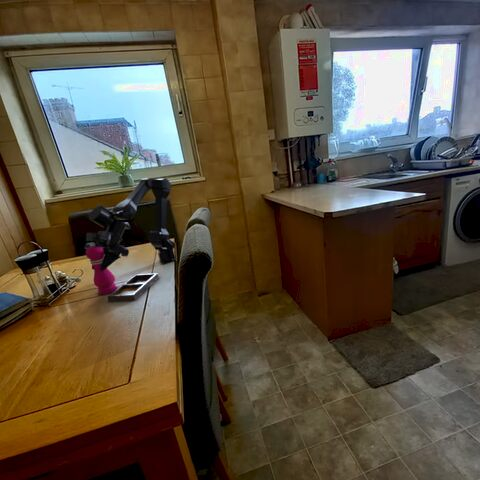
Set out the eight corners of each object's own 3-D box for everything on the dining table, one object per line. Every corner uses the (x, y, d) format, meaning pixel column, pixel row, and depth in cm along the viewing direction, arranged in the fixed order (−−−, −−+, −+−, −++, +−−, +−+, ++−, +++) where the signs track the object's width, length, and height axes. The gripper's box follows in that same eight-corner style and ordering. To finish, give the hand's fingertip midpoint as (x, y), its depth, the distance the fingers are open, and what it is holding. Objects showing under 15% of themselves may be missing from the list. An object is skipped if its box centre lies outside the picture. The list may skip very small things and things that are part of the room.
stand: (158, 277, 117) (157, 273, 116) (134, 300, 99) (133, 294, 98) (136, 279, 118) (134, 274, 117) (108, 301, 100) (106, 296, 99)
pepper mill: (122, 287, 111) (107, 239, 103) (106, 295, 105) (89, 246, 97) (108, 285, 114) (93, 238, 106) (93, 293, 108) (75, 245, 100)
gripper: (80, 223, 107) (61, 259, 102) (112, 222, 99) (94, 262, 94) (105, 236, 117) (89, 271, 111) (136, 237, 108) (120, 274, 103)
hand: (97, 269), depth 105 cm, fingers closed on pepper mill, 5 cm apart
